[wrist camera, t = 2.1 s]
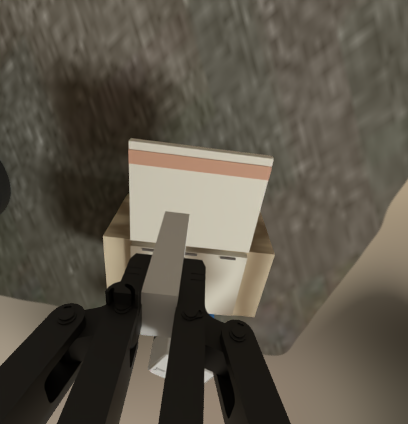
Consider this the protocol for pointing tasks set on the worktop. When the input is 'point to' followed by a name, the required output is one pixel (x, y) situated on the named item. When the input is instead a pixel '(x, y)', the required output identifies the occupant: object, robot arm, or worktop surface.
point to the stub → (197, 192)
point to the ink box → (166, 357)
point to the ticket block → (213, 259)
